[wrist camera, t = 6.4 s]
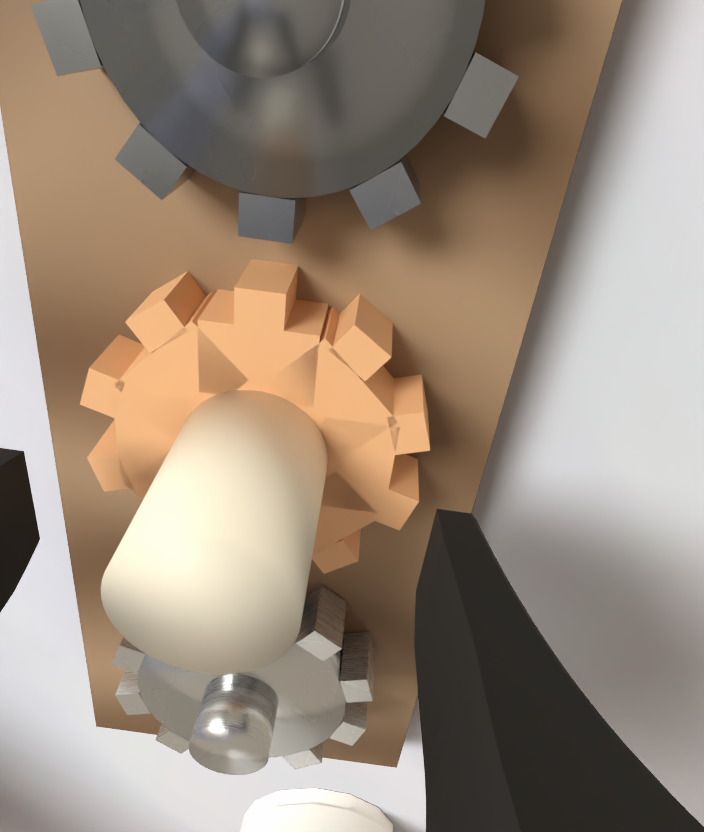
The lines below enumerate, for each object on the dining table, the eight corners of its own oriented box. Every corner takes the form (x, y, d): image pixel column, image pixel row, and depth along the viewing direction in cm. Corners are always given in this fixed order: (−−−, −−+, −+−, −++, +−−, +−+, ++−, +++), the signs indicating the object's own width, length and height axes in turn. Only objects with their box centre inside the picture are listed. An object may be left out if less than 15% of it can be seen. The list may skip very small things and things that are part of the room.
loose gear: (398, 550, 16) (396, 767, 11) (124, 514, 16) (10, 717, 11) (453, 286, 12) (483, 450, 8) (95, 238, 12) (-91, 374, 8)
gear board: (397, 725, 22) (396, 805, 20) (113, 685, 22) (80, 762, 20) (707, -397, 9) (816, -544, 6) (-34, -511, 9) (-193, -702, 6)
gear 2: (356, 736, 20) (349, 839, 18) (139, 707, 20) (101, 805, 18) (390, 582, 17) (388, 685, 14) (125, 545, 17) (74, 642, 14)
